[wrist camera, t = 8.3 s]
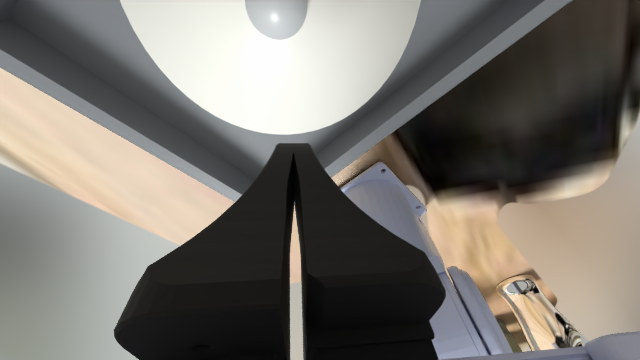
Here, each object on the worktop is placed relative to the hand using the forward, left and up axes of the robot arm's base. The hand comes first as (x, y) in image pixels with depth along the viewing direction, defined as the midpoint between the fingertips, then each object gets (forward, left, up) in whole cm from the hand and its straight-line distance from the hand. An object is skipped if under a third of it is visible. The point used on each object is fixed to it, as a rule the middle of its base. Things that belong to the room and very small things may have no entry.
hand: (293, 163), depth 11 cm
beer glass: (-49, -3, -10) cm, 50 cm away
